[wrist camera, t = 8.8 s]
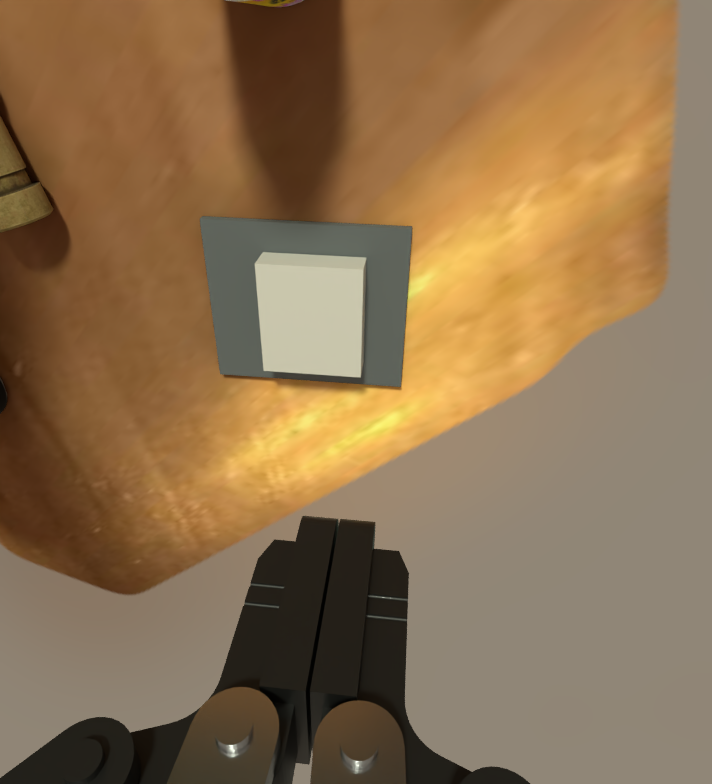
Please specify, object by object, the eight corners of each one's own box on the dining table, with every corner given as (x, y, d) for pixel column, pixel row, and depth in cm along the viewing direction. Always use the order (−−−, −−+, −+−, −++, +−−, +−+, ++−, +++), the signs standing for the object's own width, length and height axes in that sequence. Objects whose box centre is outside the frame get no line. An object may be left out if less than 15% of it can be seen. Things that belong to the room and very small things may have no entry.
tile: (263, 370, 41) (360, 377, 40) (254, 263, 36) (363, 269, 36) (270, 355, 43) (363, 361, 42) (263, 251, 38) (366, 256, 38)
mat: (222, 370, 45) (220, 374, 44) (202, 216, 38) (199, 218, 38) (401, 382, 44) (400, 386, 43) (412, 226, 37) (411, 229, 36)
